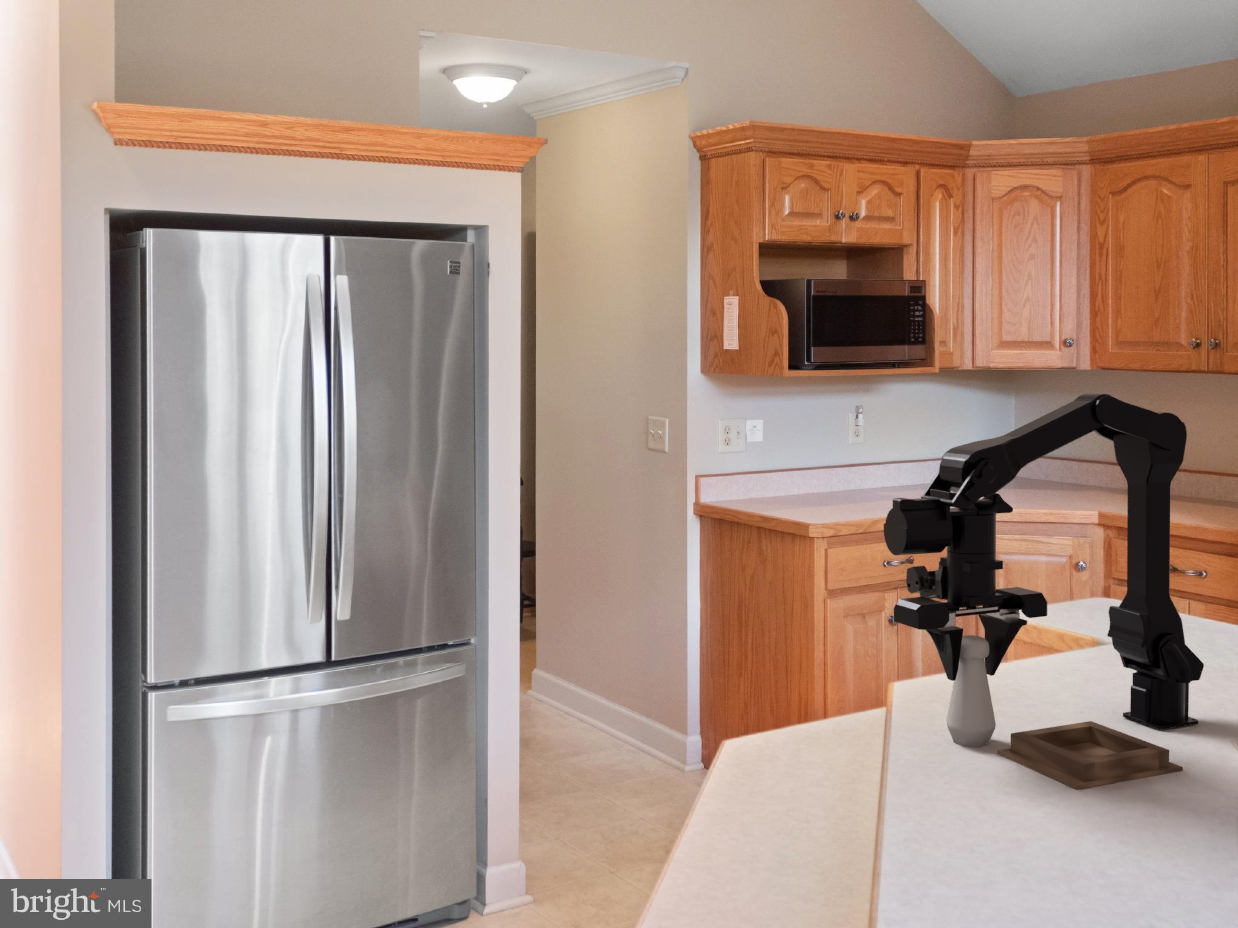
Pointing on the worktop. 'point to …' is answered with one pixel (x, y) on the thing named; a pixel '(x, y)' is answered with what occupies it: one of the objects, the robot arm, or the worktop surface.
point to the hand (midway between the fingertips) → (970, 677)
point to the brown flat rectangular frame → (1088, 754)
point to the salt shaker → (971, 696)
